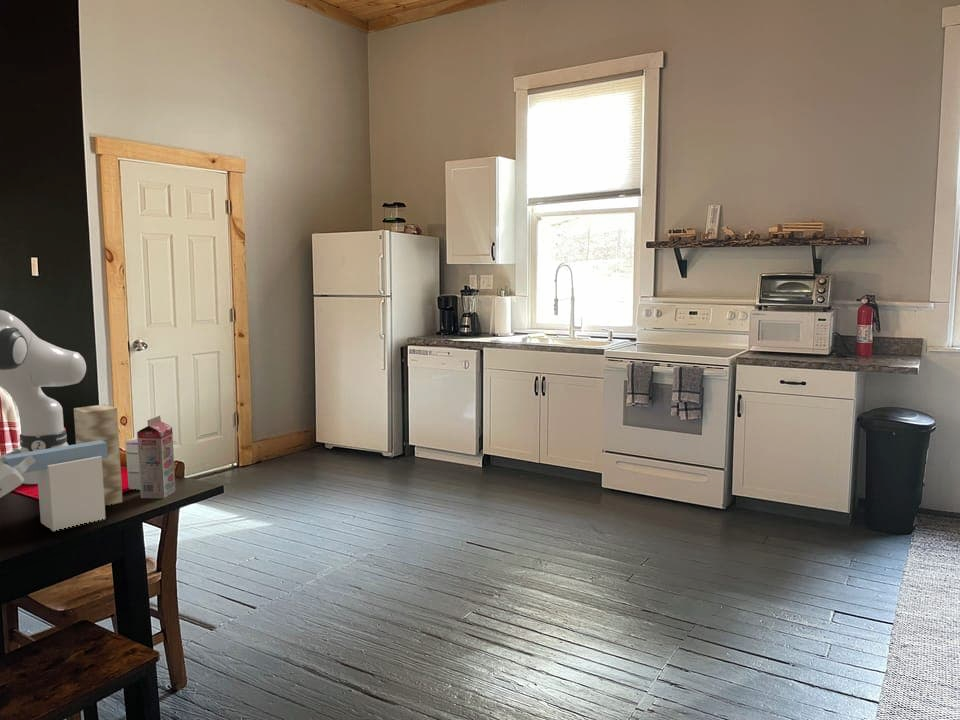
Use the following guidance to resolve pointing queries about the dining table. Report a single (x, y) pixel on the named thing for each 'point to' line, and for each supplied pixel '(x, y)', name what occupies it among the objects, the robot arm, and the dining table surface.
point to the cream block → (71, 493)
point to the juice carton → (156, 459)
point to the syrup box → (133, 463)
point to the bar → (59, 455)
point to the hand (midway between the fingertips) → (26, 454)
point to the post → (104, 426)
